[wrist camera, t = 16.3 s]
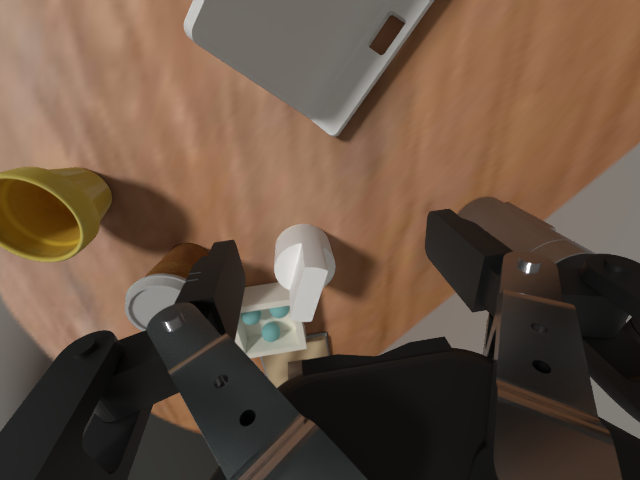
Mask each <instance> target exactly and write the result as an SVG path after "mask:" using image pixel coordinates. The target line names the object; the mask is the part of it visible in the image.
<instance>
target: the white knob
mask: <svg viewBox="0 0 640 480" xmlns="http://www.w3.org/2000/svg"><path fill="white" fill-rule="evenodd" d="M335 268H336V266H335V260H334V256H333V253H332V249H331V246H330V242H329V239H328V237H327V235H326V234H325V233H324V232H323V231H322V230H321V229H319V228H318V227H316V226H313V225H310V224H298V225H294V226H291V227H289V228H287V229H286V230H285V231H283V232H282V233H281V234H280V236H279V237H278V239H277V242H276V247H275V267H274V272H275V276H276V279H277V280H278V282H279V283H280V284H281V285H282V286H283V287H284V288H286V289H288V290H289V296H290V319H291V320H294V321H299V322H311V321H312V319H313V316H314V313H315V310H316V307H317V304H318V301H319V298H320V295H321V292H322V289H323V287H324V286H326V285H327V284H328V283H329V282H330V281H331V280H332V278H333V276H334V274H335Z"/></svg>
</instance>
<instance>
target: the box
mask: <svg viewBox="0 0 640 480" xmlns="http://www.w3.org/2000/svg"><path fill="white" fill-rule="evenodd" d="M282 306H289V307H290V296H289V290H288V289H286V288H284V287H283V286H282V285H281V284H280V283H279V282H276V283H269V284H263V285H256V286H250V287H245V290H244V296H243V301H242V306H241V311H240V317H239V322H238V327H237V333H236V338H235V343H236V344H237V345H238V346H239V347H240V348H241V349H242V350H243V351H244V352H245V354H246V355H247V356H248V357H249V358H255V357H261V356H267V355H273V354H279V353H285V352H291V351H297V350H303V349H307V343H306V331H305V324H304V322H299V321H294V320H291V319H290V308H289V312H288V314H287V315H286V316H285V317H283V318H275V317H274V316H272V314H271V313H270V308H276V307H282ZM257 310H261V318H260V320H259V321H258V322H257V323H256V324H254V325H247V324H245V323H244V322H243V321H242V319H241V313H244V312H251V311H257ZM269 322H274V323H276V324H277V325H278V326H279V327H280V336H279V338H278V339H277V340H276V341H273V342H267V341H266V340H264V339H263V337H262V334H261V331H262V328H263V326H264V325H265V324H267V323H269Z"/></svg>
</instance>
